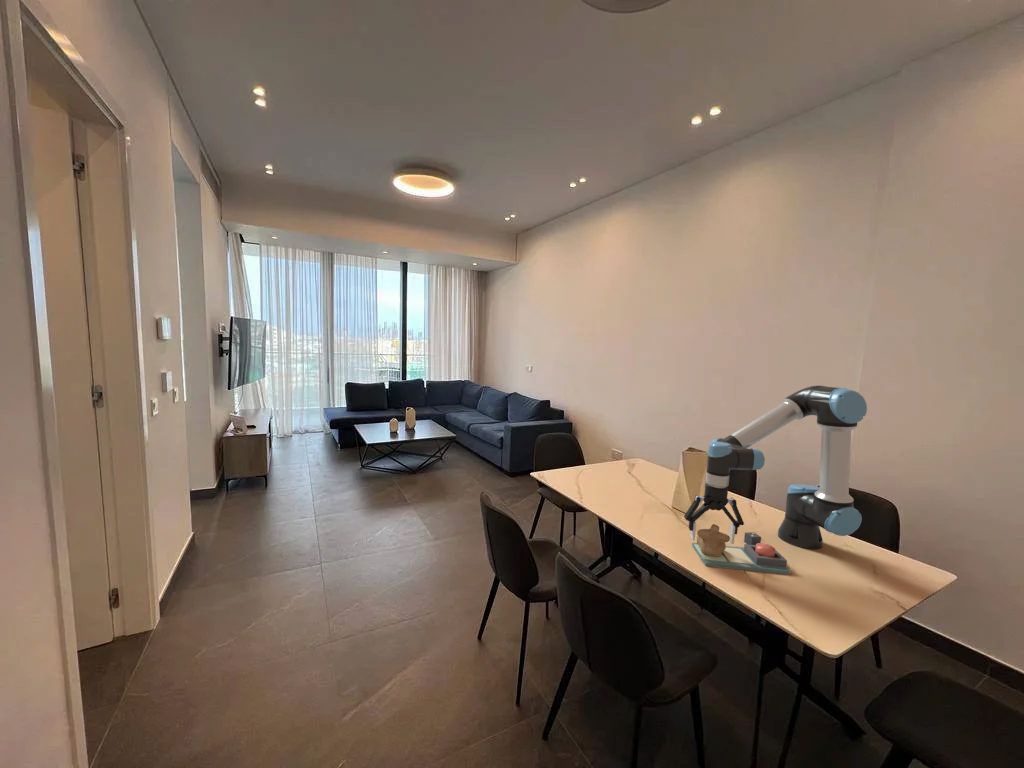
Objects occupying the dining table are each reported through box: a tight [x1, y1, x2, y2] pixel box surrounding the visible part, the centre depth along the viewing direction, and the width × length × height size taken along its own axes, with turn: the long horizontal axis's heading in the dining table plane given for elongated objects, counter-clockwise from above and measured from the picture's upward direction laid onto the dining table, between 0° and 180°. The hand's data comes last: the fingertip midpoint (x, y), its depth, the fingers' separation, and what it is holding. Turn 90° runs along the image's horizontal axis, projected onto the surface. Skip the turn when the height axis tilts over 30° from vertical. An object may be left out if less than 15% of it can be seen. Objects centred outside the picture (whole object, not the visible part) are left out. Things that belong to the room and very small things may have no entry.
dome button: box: [755, 542, 776, 557], centre depth 150 cm, size 6×6×4 cm
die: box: [743, 531, 762, 545], centre depth 163 cm, size 4×4×4 cm
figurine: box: [696, 523, 730, 557], centre depth 151 cm, size 11×9×15 cm
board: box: [691, 542, 791, 575], centre depth 151 cm, size 28×15×4 cm, turn 83°
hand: (711, 540), depth 152 cm, fingers open, 13 cm apart
